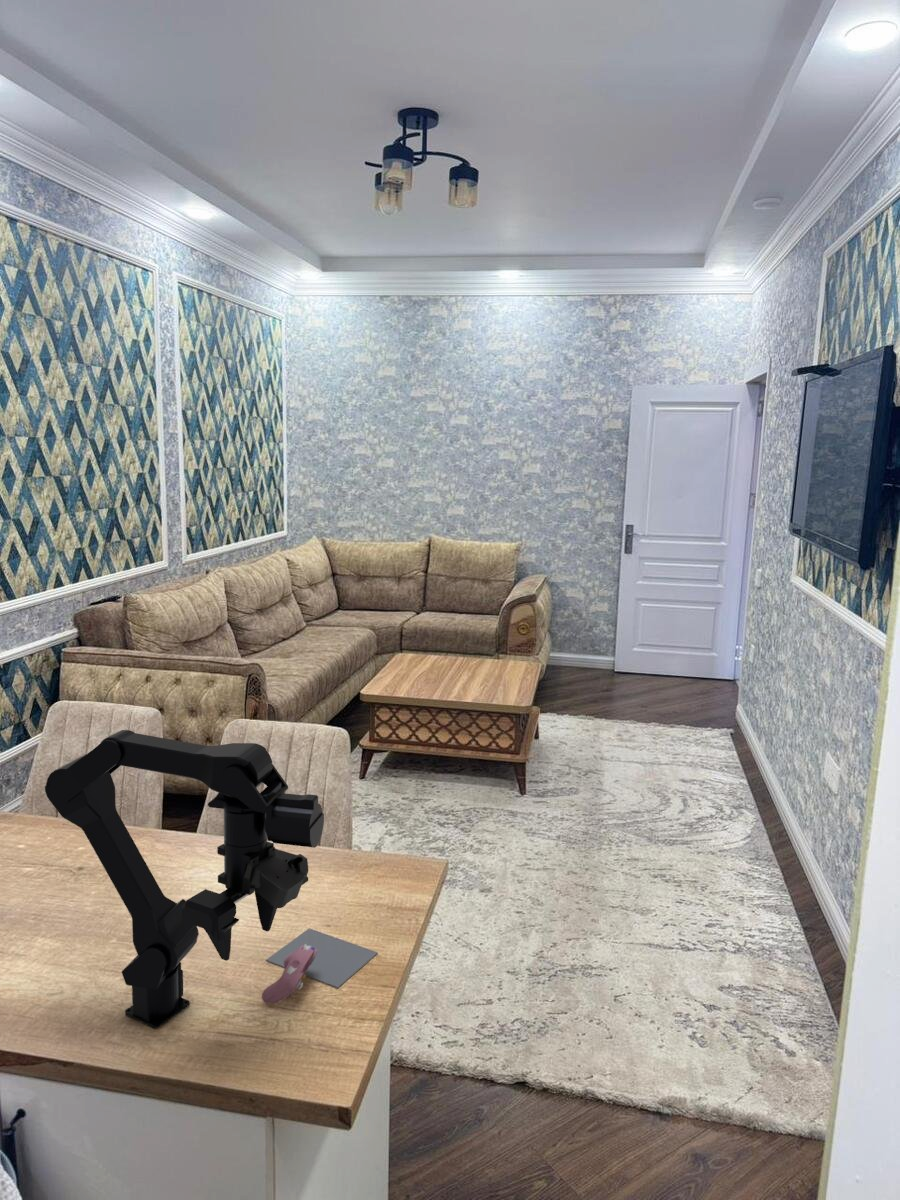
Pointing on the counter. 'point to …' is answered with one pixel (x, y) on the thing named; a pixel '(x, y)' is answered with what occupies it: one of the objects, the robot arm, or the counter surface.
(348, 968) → the mat
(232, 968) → the counter surface
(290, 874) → the robot arm
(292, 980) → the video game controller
